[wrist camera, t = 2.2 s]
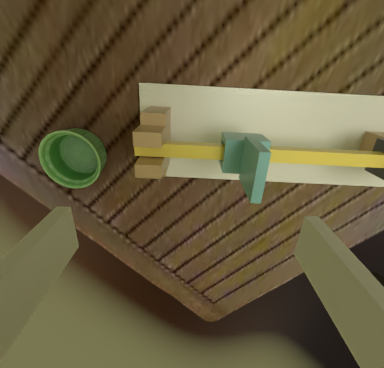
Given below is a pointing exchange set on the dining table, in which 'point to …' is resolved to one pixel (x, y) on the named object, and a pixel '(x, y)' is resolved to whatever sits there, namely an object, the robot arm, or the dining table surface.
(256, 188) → the sleeve
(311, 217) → the robot arm
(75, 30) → the dining table surface
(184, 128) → the cord rig
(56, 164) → the ramekin
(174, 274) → the dining table surface
